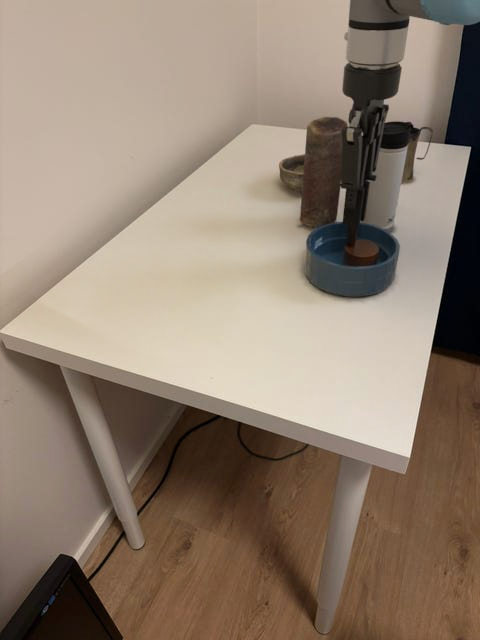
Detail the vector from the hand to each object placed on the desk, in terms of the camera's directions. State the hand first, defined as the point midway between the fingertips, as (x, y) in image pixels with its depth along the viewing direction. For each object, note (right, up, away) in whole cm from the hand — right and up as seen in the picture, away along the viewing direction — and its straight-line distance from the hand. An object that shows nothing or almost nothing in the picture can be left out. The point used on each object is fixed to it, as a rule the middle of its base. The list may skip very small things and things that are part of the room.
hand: (353, 221), depth 79 cm
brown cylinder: (-3, +3, +19) cm, 20 cm away
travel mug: (+9, +2, +17) cm, 20 cm away
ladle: (+2, -6, +4) cm, 8 cm away
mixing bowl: (0, -8, +5) cm, 9 cm away
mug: (+20, +17, +34) cm, 43 cm away
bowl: (-2, +15, +33) cm, 37 cm away
